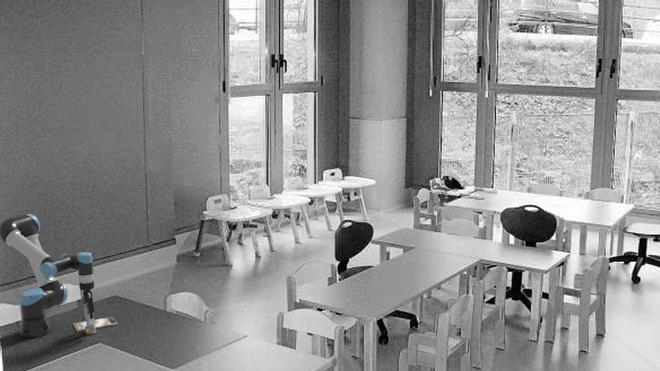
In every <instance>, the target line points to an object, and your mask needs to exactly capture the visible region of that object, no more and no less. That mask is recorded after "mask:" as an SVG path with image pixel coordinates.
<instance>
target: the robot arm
mask: <svg viewBox="0 0 660 371" xmlns="http://www.w3.org/2000/svg"><path fill="white" fill-rule="evenodd" d="M40 230H41V224H40V221H39V219H38V218H37V217H36V216H35V215H33V214H31V213H28V214H20V215H18V216H17V215H16V216H14V217H9V218H6V219H4V220H2V222H1V223H0V240H1V242H3V243H4V244H6V245H7V246H10V247H13V248H14V249H16V250H17V251H18V252H19V253H20V254H22V255H23V256H25V257H26V258H28V262H29V264H30V267H31V269H32V272H33V274H34V276H35V279H36V281H37V283H38V285H37V287H33V288H30V289H26V290H25V291H23V292H22V293H21V295H20V306H21V316H22V323H21V327H20V329H19V330H20V331H19V334H20V336H21V337H23V338H28V339H30V338H32V339H33V338H38V337H43V336H45V335H48V334H49V333H50V332H51V327H50V324H49V321H48V320H47V317H46V311H48V310H51V309H53V308H57V307H59V306H61V305H63V304H64V303H66V301H67V300H68V299H67V298H68V296H69V295H68V294H69V293H68V288H67V287H66V285H65V284H63V283H62V282H60V281H59V279H58V278H55V277H54V276H55V275H58V274H62V273H64V272H67V271H70V270H75V271H76V270H77V271H78V272H77V273H78V282H79V283H78V284H79V289H80V291H82V295H83V296H82V297H83V298H82V299H83V300H82V301H83V303H82V304H83V305H84V303H87V306H88V312H87V314H88V318H89V325H91V324H94V320H95V314H94V313H95V306H94V301H93V300H94V298H93V292H92V290H93V289H95V281H94V280H95V279H94V277H95V274H94V270H93V269H94V265H93V261H94V260H93V256H92V253H91V252H89V251H87V252H86V251H83V252H79V253H77V255H76V254H70V253H66V254H65V253H64V254H63V255H61V257H59V258H57V259H54V257H52V256H51V255H49V254H48V253H46V252H45V251H44V250H43V248H42V245H41V243H40V240H39V235H40V233H39V232H40ZM84 310H85V307H84ZM90 310H91V311H90ZM84 318H85V320H86V316H85V315H84Z"/></svg>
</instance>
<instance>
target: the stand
mask: <svg viewBox="0 0 660 371" xmlns="http://www.w3.org/2000/svg"><path fill="white" fill-rule="evenodd" d="M84 332H85V334H86V335H92V334H93V335H94V334H97V329H96V327H95V325H94V327H93V328H87V327H86V326H85V331H84Z"/></svg>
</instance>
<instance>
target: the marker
mask: <svg viewBox="0 0 660 371" xmlns="http://www.w3.org/2000/svg"><path fill="white" fill-rule="evenodd" d="M83 306H84V307H85V309H84V317H85V316H86V319H85V321H86V327H87V328H93V327H94V325H93V324H91V325H89V318H88V314H87V312H88V306H87V303H84V304H83ZM90 311H91V310H90Z"/></svg>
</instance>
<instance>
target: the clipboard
mask: <svg viewBox="0 0 660 371" xmlns="http://www.w3.org/2000/svg"><path fill="white" fill-rule="evenodd" d="M93 325H95V327H96V330H97V329H103V328H108V327H113V326H114V327H115V326H119V323H118V321H117V320H116V319H115V318H114V316H108V317H102V318H97V319H95V318H94V324H93ZM72 326H73V327H74V330H75V331H76V332H77V333H79V332H85V326H86V320H85V321H79V322H73V323H72Z"/></svg>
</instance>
